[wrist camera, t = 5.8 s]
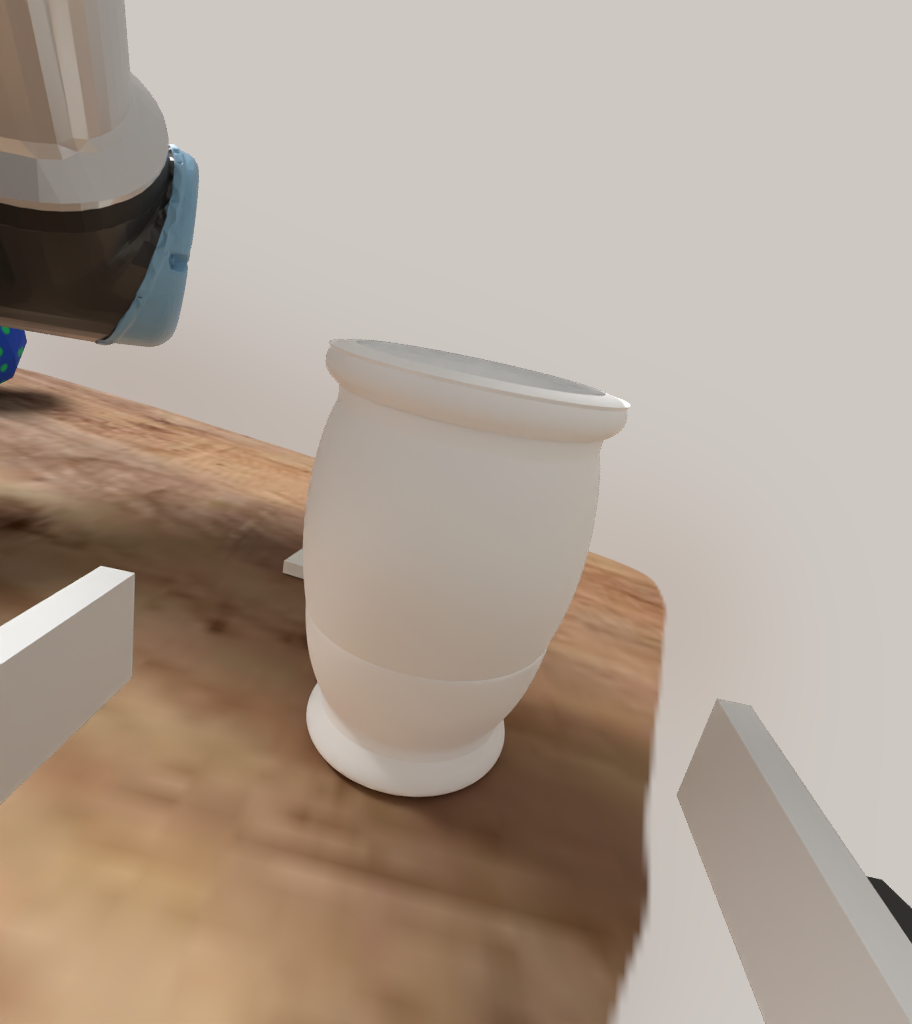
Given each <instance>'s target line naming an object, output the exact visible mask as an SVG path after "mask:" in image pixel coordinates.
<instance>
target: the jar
mask: <svg viewBox="0 0 912 1024" xmlns="http://www.w3.org/2000/svg"><path fill="white" fill-rule="evenodd" d="M329 342H330V345H331V346H330V348H329V349H328V352H327V355H326V366H327V369H328V371H329V373H330V374H331V376H332V377H333V378H334V379H335V380H336V381H337V382H338V383H339V394H338V399H337V401H336V403H335V405H334V407H333V409H332V411H331V413H330V415H329V418H328V420H327V423H326V425H325V428H324V431H323V434H322V437H321V440H320V444H319V447H318V451H317V454H316V458H315V462H314V466H313V470H312V474H311V479H310V484H309V489H308V495H307V501H306V509H305V518H304V531H303V574H304V588H305V598H306V634H307V643H308V650H309V655H310V660H311V664H312V667H313V671H314V674H315V677H316V679H317V684H316V686H315V687H314V689H313V691H312V693H311V695H310V698H309V701H308V705H307V711H306V721H307V727H308V731H309V734H310V737H311V739H312V742H313V743H314V745H315V747H316V748H317V750H318V752H319V753H320V754H321V756H322V757H323V758H324V759H325V760H326V761H327V762H328V763H329V764H330V765H331V766H332V767H333V768H334V769H336V770H337V771H338V772H340V773H341V774H343V775H344V776H346V777H347V778H349V779H350V780H352V781H354V782H356V783H358V784H361V785H363V786H365V787H368V788H370V789H373V790H376V791H380V792H384V793H387V794H392V795H399V796H408V797H427V796H437V795H443V794H447V793H451V792H454V791H457V790H460V789H462V788H465V787H467V786H469V785H471V784H473V783H474V782H476V781H477V780H479V779H480V778H482V777H483V776H484V775H485V774H486V773H487V772H488V771H489V770H490V769H491V768H492V767H493V766H494V764H495V763H496V761H497V760H498V758H499V756H500V753H501V751H502V748H503V744H504V737H505V728H504V720H503V719H504V718H505V717H506V716H507V715H508V714H509V713H510V712H511V711H512V710H513V708H514V707H515V706H516V705H517V703H518V702H519V701H520V700H521V698H522V697H523V695H524V694H525V692H526V691H527V689H528V687H529V686H530V684H531V682H532V680H533V679H534V677H535V675H536V673H537V671H538V669H539V667H540V665H541V662H542V660H543V658H544V655H545V653H546V650H547V647H548V644H549V643H550V641H551V639H552V638H553V636H554V634H555V633H556V631H557V629H558V627H559V626H560V624H561V622H562V620H563V618H564V616H565V614H566V612H567V610H568V608H569V605H570V603H571V601H572V598H573V596H574V593H575V591H576V588H577V586H578V583H579V580H580V577H581V574H582V571H583V568H584V565H585V561H586V558H587V554H588V550H589V546H590V542H591V537H592V532H593V527H594V521H595V516H596V510H597V502H598V494H599V482H600V481H599V480H600V460H599V453H600V449H601V446H602V443H603V440H605V439H608V438H610V437H612V436H614V435H616V434H617V433H619V432H620V431H621V430H622V428H623V427H624V425H625V423H626V420H627V409H628V408H629V407H630V404H629V403H627V402H626V401H624V400H622V399H619V398H617V397H614V396H612V395H610V394H608V393H606V392H603V391H600V390H598V389H595V388H592V387H589V386H586V385H583V384H580V383H577V382H573V381H570V380H566V379H562V378H559V377H555V376H551V375H547V374H543V373H540V372H536V371H532V370H527V369H523V368H519V367H515V366H510V365H506V364H502V363H497V362H492V361H488V360H484V359H479V358H474V357H469V356H464V355H459V354H454V353H449V352H444V351H438V350H433V349H428V348H422V347H417V346H410V345H404V344H398V343H391V342H383V341H374V340H361V339H347V340H344V339H338V340H330V341H329Z"/></svg>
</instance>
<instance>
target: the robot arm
mask: <svg viewBox="0 0 912 1024" xmlns="http://www.w3.org/2000/svg"><path fill="white" fill-rule="evenodd" d="M198 183H199V170H198V166H197V163H196V161H195V160H194V158H192V157H191V156H190V155H189V154H187V153H185V152H183V151H181V150H180V149H179V148H178V147H177V146H176V145H170V144H169V143H168V133H167V128H166V124H165V120H164V117H163V114H162V112H161V110H160V108H159V106H158V104H157V102H156V101H155V99H154V98H153V97H152V95H151V94H150V92H149V91H148V90H147V89H146V87H145V86H144V85H143V84H142V83H141V82H140V81H139V79H138V78H137V77H135V76H134V75H133V74H132V73H131V72H130V67H129V56H128V43H127V30H126V18H125V5H124V0H0V326H2V327H8V328H14V329H20V330H26V331H32V332H38V333H44V334H50V335H56V336H62V337H68V338H74V339H80V340H86V341H92V342H95V343H96V344H100V345H110V344H113V343H118V344H127V345H136V346H146V347H153V346H158V345H161V344H163V343H165V342H166V341H167V340H169V339H170V338H171V337H172V335H173V333H174V332H175V329H176V326H177V323H178V319H179V315H180V311H181V306H182V301H183V296H184V291H185V285H186V278H187V269H188V266H187V262H188V260H189V256H190V249H191V245H192V240H193V233H194V225H195V217H196V207H197V197H198ZM134 592H135V573H132V572H127V571H123V570H118V569H113V568H109V567H104V566H100V567H98V568H97V569H95V570H93V571H92V572H90V573H88V574H87V575H85V576H83V577H82V578H80V579H78V580H77V581H75V582H73V583H72V584H70V585H68V586H67V587H65V588H63V589H62V590H60V591H58V592H57V593H55V594H53V595H52V596H50V597H48V598H47V599H45V600H43V601H42V602H40V603H39V604H37V605H35V606H34V607H32V608H30V609H29V610H27V611H25V612H24V613H22V614H20V615H19V616H17V617H15V618H14V619H12V620H10V621H9V622H7V623H5V624H4V625H2V626H0V805H1V804H2V803H3V802H4V801H5V800H6V799H7V798H8V797H9V796H10V795H11V794H12V793H13V792H14V791H15V790H16V789H17V788H18V787H19V786H20V785H21V784H22V783H23V782H25V781H26V780H27V779H28V778H29V777H30V776H31V775H32V774H33V773H34V772H35V771H36V770H37V769H38V768H39V767H40V766H41V765H42V764H43V763H44V762H45V761H46V760H47V759H48V758H49V757H50V756H52V755H53V754H54V753H55V752H56V751H57V750H58V749H59V748H60V747H61V746H62V745H63V744H64V743H65V742H66V741H67V740H68V739H69V738H70V737H71V736H72V735H73V734H74V733H75V732H76V731H78V730H79V729H80V728H81V727H82V726H83V725H84V724H85V723H86V722H87V721H88V720H89V719H90V718H91V717H92V716H93V715H94V714H95V713H96V712H97V711H98V710H99V709H100V708H101V707H102V706H103V705H105V704H106V703H107V702H108V701H109V700H110V699H111V698H112V697H113V696H114V695H115V694H116V693H117V692H118V691H119V690H120V689H121V688H122V687H123V686H124V685H125V684H126V683H127V682H128V681H129V680H130V679H132V665H133V629H134ZM677 797H678V799H679V802H680V805H681V807H682V810H683V812H684V815H685V818H686V820H687V823H688V825H689V828H690V830H691V833H692V836H693V838H694V841H695V843H696V846H697V848H698V851H699V854H700V856H701V859H702V861H703V864H704V867H705V869H706V872H707V874H708V877H709V879H710V882H711V885H712V887H713V890H714V892H715V895H716V897H717V900H718V903H719V905H720V908H721V910H722V913H723V915H724V918H725V921H726V923H727V926H728V928H729V931H730V933H731V936H732V939H733V941H734V944H735V946H736V949H737V952H738V954H739V957H740V959H741V962H742V964H743V967H744V970H745V972H746V975H747V977H748V980H749V982H750V985H751V988H752V990H753V993H754V995H755V998H756V1001H757V1003H758V1006H759V1008H760V1011H761V1013H762V1016H763V1018H764V1021H765V1024H912V908H910V906H909V905H907V904H906V903H905V902H904V901H903V900H902V899H901V898H900V897H899V896H898V895H897V894H896V893H895V892H894V891H893V890H892V889H891V888H890V887H889V886H888V885H887V884H886V883H885V882H884V881H882V880H880V879H876V878H872V877H867V876H866V875H865V874H864V873H863V871H862V869H861V868H860V867H859V865H858V864H857V862H856V861H855V859H854V858H853V856H852V855H851V853H850V852H849V850H848V849H847V848H846V846H845V844H844V843H843V841H842V840H841V838H840V837H839V835H838V834H837V832H836V831H835V829H834V828H833V827H832V825H831V824H830V822H829V821H828V819H827V818H826V816H825V815H824V813H823V812H822V810H821V809H820V807H819V806H818V804H817V803H816V802H815V800H814V798H813V797H812V795H811V794H810V793H809V791H808V790H807V788H806V787H805V785H804V784H803V782H802V781H801V779H800V778H799V776H798V775H797V773H796V772H795V770H794V769H793V767H792V766H791V764H790V763H789V762H788V760H787V759H786V757H785V756H784V754H783V753H782V751H781V750H780V748H779V747H778V745H777V744H776V742H775V741H774V739H773V738H772V736H771V735H770V733H769V732H768V730H767V729H766V728H765V726H764V725H763V723H762V722H761V720H760V719H759V717H758V716H757V714H756V713H755V711H754V710H753V708H752V707H751V706H749V705H745V704H740V703H735V702H730V701H726V700H721V699H717V700H716V702H715V705H714V707H713V709H712V712H711V714H710V717H709V719H708V722H707V724H706V726H705V729H704V731H703V734H702V736H701V738H700V741H699V743H698V746H697V748H696V750H695V753H694V755H693V758H692V760H691V762H690V765H689V767H688V770H687V772H686V774H685V777H684V779H683V782H682V784H681V786H680V789H679V791H678V794H677Z"/></svg>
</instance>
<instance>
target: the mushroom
mask: <svg viewBox="0 0 912 1024" xmlns="http://www.w3.org/2000/svg"><path fill="white" fill-rule="evenodd" d="M26 342H27V340H26V336H25V331H24V330H20V329H14V328H8V327H2V326H0V384H1V383H3V382H5V381H7V380H9V379H10V378H12V377H13V376H14V373H15V371H16V368H17V365H18V363H19V360H20V358H21V355H22V353H23V350H24V348H25V345H26Z"/></svg>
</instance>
